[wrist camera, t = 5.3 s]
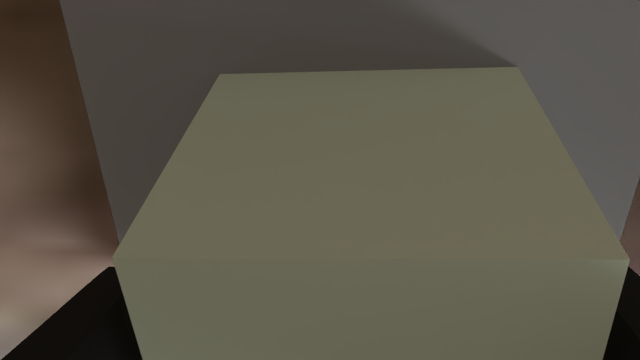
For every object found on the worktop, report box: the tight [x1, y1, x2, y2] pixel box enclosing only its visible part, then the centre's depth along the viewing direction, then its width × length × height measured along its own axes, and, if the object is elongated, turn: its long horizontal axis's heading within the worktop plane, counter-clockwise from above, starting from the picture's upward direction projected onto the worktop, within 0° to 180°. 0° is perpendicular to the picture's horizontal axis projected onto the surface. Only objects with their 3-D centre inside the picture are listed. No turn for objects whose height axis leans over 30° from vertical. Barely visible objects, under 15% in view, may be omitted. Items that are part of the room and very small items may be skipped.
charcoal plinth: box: [59, 0, 640, 245], centre depth 13 cm, size 10×10×4 cm
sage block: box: [112, 67, 630, 360], centre depth 9 cm, size 5×5×5 cm
